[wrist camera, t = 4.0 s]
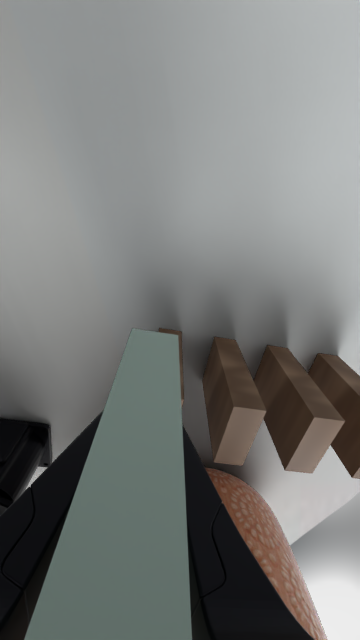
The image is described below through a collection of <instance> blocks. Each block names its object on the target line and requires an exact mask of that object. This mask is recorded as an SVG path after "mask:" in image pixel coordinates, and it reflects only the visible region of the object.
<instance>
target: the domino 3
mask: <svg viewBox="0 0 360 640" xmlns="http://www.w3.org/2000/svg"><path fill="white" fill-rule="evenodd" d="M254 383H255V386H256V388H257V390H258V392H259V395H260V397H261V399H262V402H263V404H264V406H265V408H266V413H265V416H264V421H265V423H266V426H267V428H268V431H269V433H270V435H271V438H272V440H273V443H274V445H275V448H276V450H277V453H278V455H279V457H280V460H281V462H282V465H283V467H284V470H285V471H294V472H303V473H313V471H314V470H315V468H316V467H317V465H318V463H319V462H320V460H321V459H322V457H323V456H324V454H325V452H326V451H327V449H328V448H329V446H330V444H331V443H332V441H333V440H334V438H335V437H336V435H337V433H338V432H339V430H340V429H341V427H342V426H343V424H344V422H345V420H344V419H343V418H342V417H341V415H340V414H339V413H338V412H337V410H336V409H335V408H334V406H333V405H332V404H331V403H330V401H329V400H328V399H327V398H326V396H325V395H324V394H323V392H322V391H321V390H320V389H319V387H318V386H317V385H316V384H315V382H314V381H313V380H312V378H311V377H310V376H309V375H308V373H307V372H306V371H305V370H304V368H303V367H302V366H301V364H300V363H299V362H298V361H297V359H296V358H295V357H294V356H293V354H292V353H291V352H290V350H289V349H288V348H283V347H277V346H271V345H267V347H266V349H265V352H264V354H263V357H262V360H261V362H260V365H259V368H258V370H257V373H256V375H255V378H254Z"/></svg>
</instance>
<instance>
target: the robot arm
mask: <svg viewBox="0 0 360 640" xmlns="http://www.w3.org/2000/svg"><path fill="white" fill-rule="evenodd" d="M103 411H104V410H103ZM103 411H102V412H101V413H100V414H99V415H98V416H97V417H96V418H95V419H94V420H93V421H92V422H91V423H90V425H89V426H88V427H87V428H86V429H85V430H84V431H83V432H82V433H81V434H80V435H79V436H78V437H77V438H76V439H75V440H74V441H73V442H72V443H71V444H70V445H69V446H68V447H67V448H66V449H65V450H64V451H63V452H62V453H61V454H60V455H59V456H58V457H57V459H56V460H55V461H54V462H53V463H52V453H51V434H50V426H49V425H47V424H42V423H34V422H25V421H17V420H8V419H0V640H24V639H25V636H26V633H27V630H28V627H29V624H30V621H31V618H32V616H33V613H34V610H35V607H36V604H37V601H38V598H39V595H40V593H41V590H42V587H43V584H44V581H45V578H46V575H47V572H48V570H49V567H50V564H51V561H52V558H53V555H54V552H55V549H56V546H57V544H58V541H59V538H60V535H61V532H62V529H63V526H64V523H65V521H66V518H67V515H68V512H69V509H70V506H71V503H72V500H73V498H74V495H75V492H76V489H77V486H78V483H79V480H80V477H81V474H82V472H83V469H84V466H85V463H86V460H87V457H88V454H89V451H90V449H91V446H92V443H93V440H94V437H95V434H96V431H97V428H98V426H99V423H100V420H101V417H102V414H103ZM182 430H183V452H184V474H185V496H186V518H187V541H188V563H189V585H190V607H191V629H192V640H315V639H314V638H313V637H312V636H311V635H310V634H309V633H308V632H307V631H306V630H305V629H304V628H303V627H302V626H301V624H300V623H299V622H298V621H297V620H296V618H295V617H294V616H293V614H292V613H291V612H290V610H289V609H288V607H287V606H286V604H285V603H284V602H283V600H282V598H281V597H280V595H279V594H278V592H277V591H276V589H275V588H274V586H273V584H272V583H271V581H270V580H269V578H268V577H267V575H266V574H265V572H264V571H263V569H262V567H261V566H260V564H259V563H258V561H257V560H256V558H255V557H254V555H253V554H252V552H251V550H250V549H249V547H248V545H247V544H246V542H245V541H244V539H243V537H242V536H241V534H240V533H239V531H238V529H237V527H236V525H235V524H234V522H233V520H232V518H231V516H230V514H229V513H228V511H227V509H226V507H225V505H224V503H222V499H221V497H220V495H219V494H218V492H217V490H216V488H215V486H214V484H213V482H212V480H211V478H210V476H209V474H208V473H207V471H206V469H205V467H204V465H203V463H202V461H201V459H200V457H199V455H198V453H197V452H196V450H195V448H194V446H193V444H192V442H191V440H190V438H189V436H188V434H187V432H186V431H185V429H184V427H183V425H182ZM51 463H52V464H51ZM38 466H40V467H48V468H47V469H46V470H45V471H44V472H43V473H42V474H41V475H40V476H39V477H38V478H37V479H36V480H35V481H34V482H33V483H32V484H31V487H28V488H27V489H26V487H27V486H28V484H29V482H30V480H31V478H32V476H33V474H34V472H35V471H36V469H37V467H38ZM25 489H26V490H25Z"/></svg>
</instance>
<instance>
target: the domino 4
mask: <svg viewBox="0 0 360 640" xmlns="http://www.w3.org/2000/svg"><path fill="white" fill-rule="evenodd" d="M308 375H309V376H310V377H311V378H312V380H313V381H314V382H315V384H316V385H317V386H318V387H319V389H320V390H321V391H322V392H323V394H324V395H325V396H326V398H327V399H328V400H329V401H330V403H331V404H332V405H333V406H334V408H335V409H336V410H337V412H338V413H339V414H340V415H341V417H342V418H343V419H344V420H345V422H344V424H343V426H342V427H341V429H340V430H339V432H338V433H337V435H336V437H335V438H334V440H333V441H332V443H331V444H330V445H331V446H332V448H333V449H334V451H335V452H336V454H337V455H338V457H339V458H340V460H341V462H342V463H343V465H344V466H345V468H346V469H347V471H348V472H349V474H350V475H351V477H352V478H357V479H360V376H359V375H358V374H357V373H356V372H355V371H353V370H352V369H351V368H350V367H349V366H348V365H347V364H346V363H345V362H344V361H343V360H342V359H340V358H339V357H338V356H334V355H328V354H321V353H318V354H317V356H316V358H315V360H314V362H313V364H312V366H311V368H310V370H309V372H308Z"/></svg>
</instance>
